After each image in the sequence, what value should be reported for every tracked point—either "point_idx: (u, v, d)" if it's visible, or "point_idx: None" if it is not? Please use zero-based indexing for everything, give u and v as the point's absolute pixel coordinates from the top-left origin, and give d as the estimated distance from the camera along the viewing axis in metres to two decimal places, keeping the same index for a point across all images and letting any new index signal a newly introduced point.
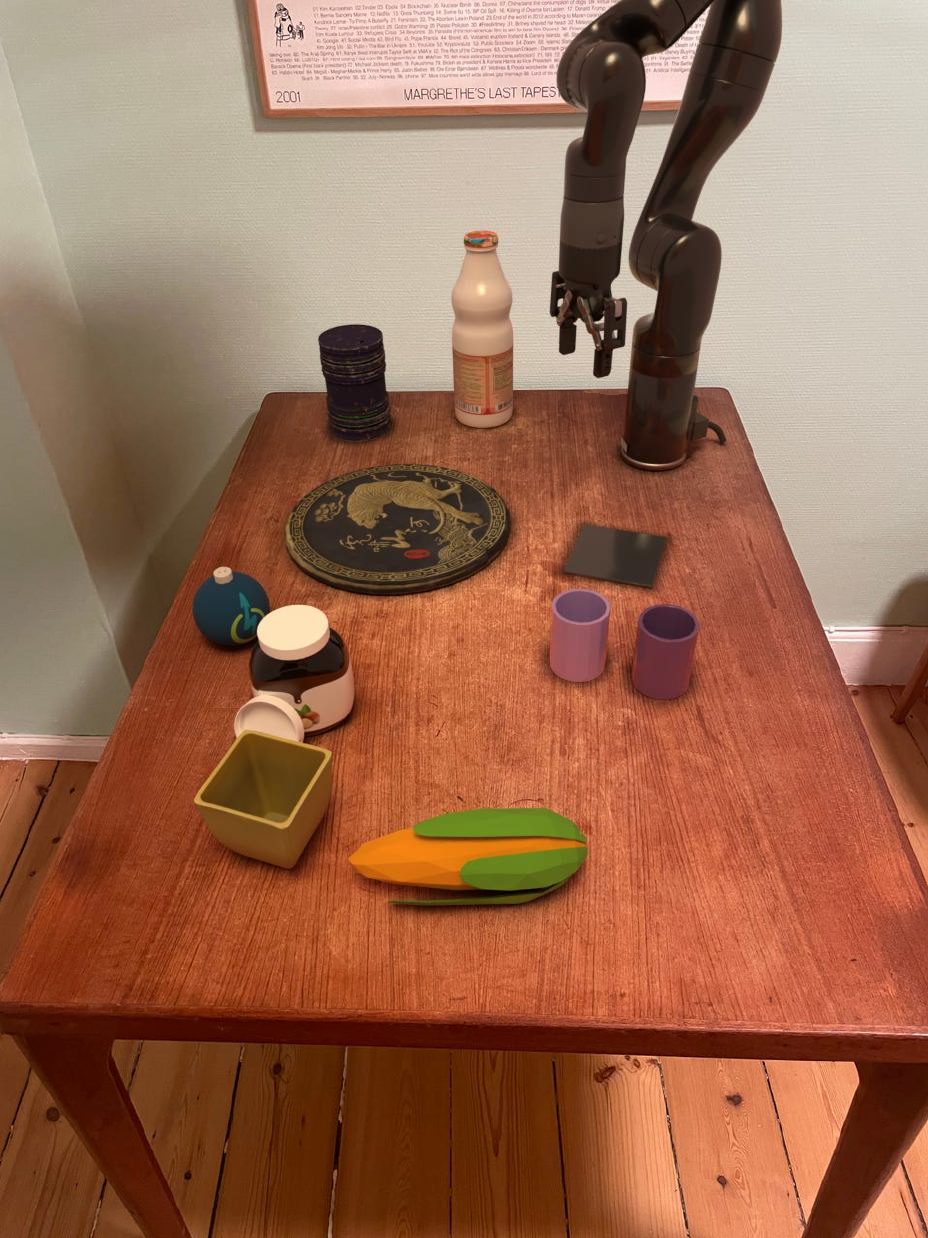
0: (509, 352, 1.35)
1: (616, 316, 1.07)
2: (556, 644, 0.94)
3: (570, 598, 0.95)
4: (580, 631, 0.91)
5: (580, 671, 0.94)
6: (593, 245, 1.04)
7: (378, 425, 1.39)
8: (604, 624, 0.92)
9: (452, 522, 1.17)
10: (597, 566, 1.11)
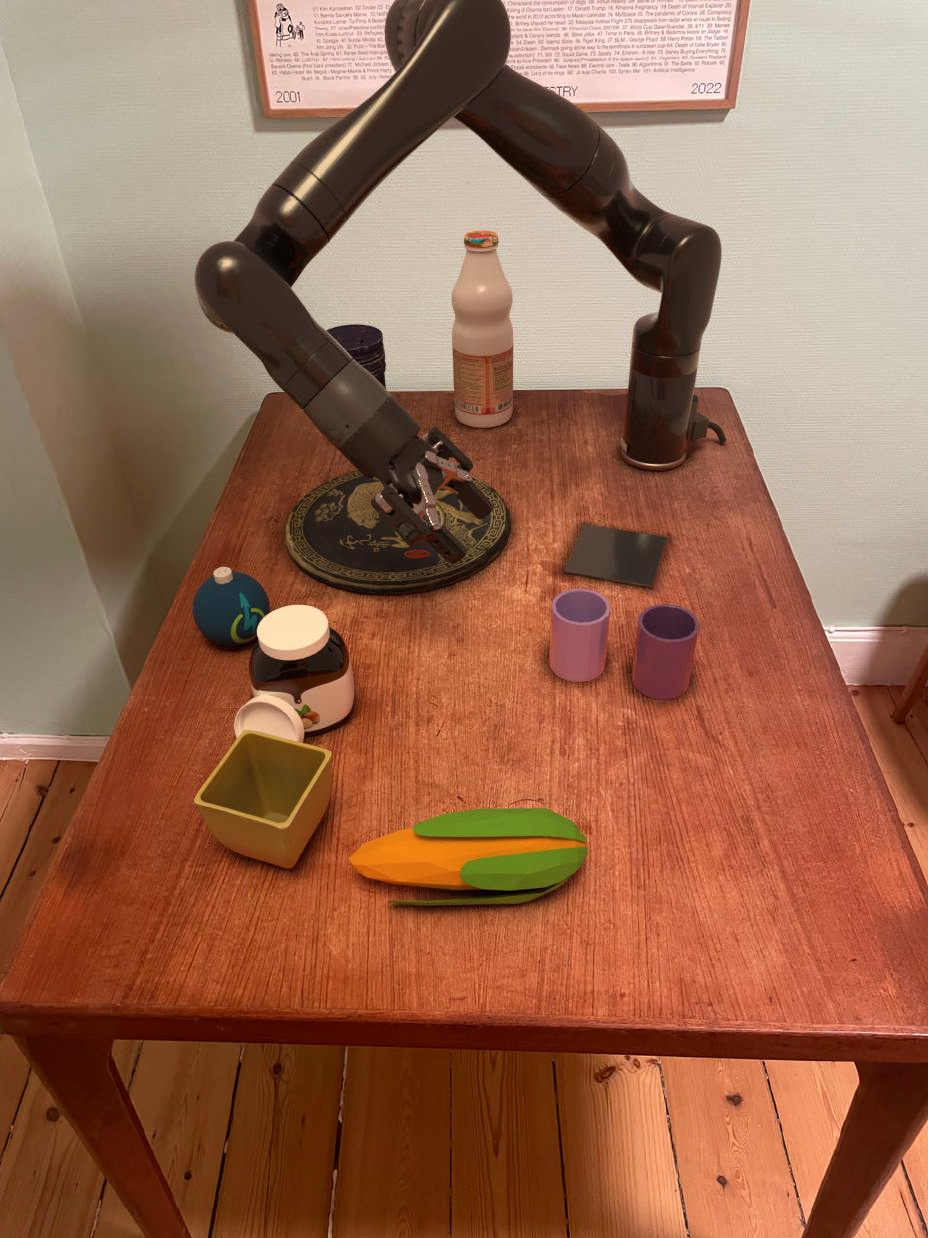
0: (509, 352, 1.35)
1: (388, 511, 0.85)
2: (556, 644, 0.94)
3: (570, 598, 0.95)
4: (580, 631, 0.91)
5: (580, 671, 0.94)
6: (337, 444, 0.86)
7: None
8: (604, 624, 0.92)
9: (452, 522, 1.17)
10: (597, 566, 1.11)
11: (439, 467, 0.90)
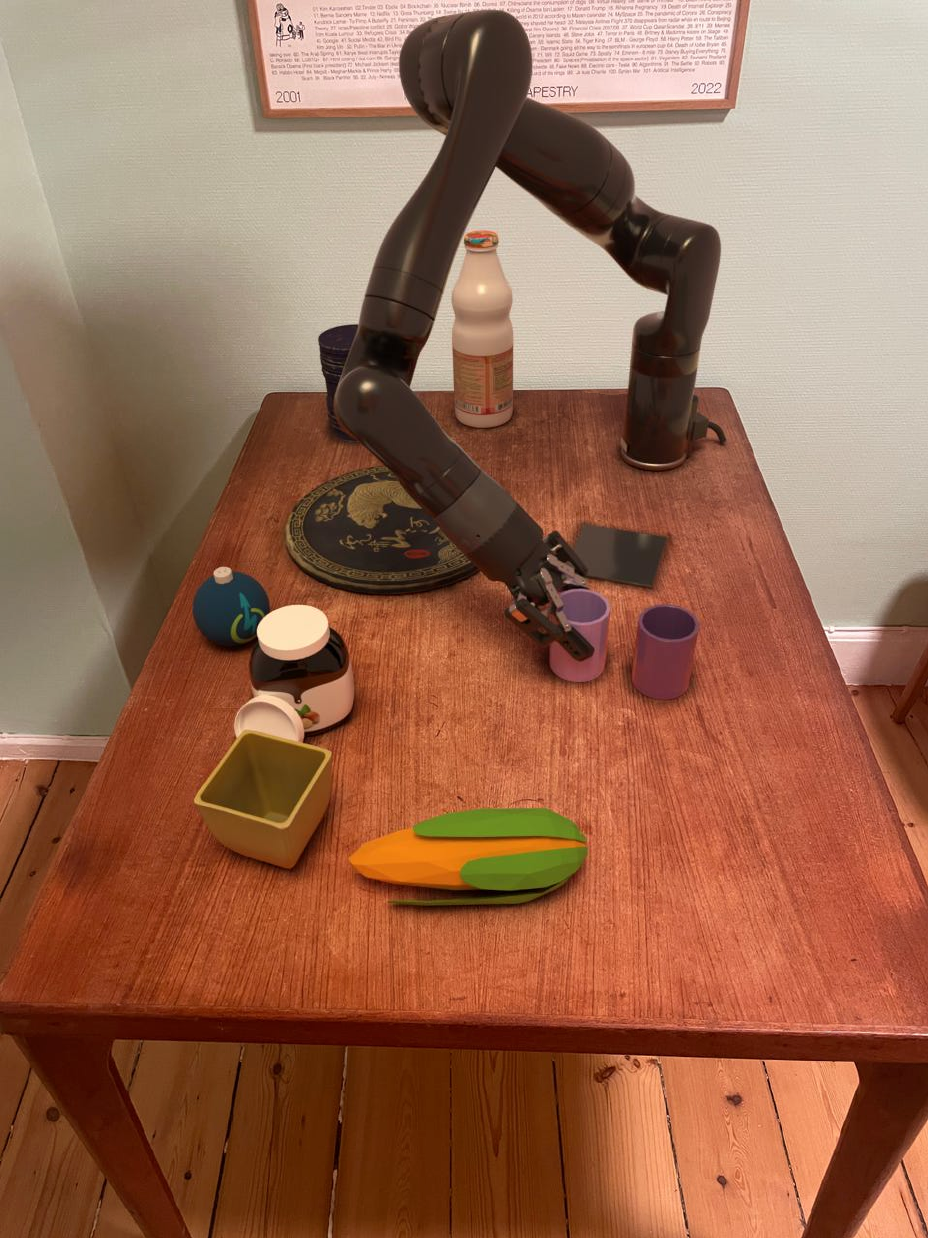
0: (509, 352, 1.35)
1: (522, 621, 0.88)
2: (556, 644, 0.94)
3: (570, 598, 0.95)
4: (580, 631, 0.91)
5: (580, 671, 0.94)
6: (465, 551, 0.89)
7: None
8: (604, 625, 0.92)
9: None
10: (597, 566, 1.11)
11: (559, 570, 0.93)
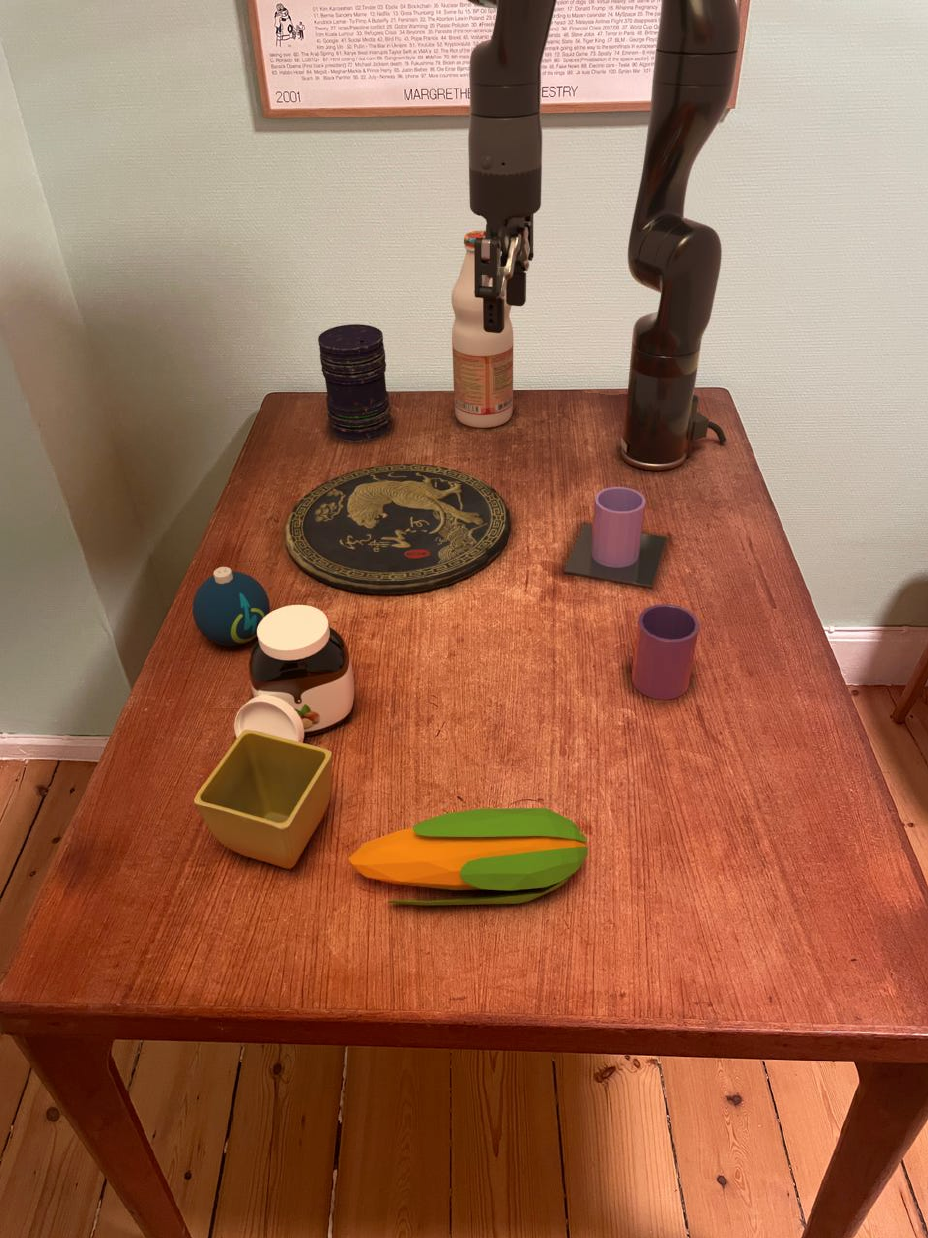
0: (509, 352, 1.35)
1: (483, 258, 0.91)
2: (598, 533, 1.09)
3: (610, 495, 1.10)
4: (620, 519, 1.06)
5: (619, 557, 1.09)
6: (478, 168, 0.90)
7: (378, 425, 1.39)
8: (640, 514, 1.07)
9: (452, 522, 1.17)
10: (597, 566, 1.11)
11: (523, 246, 0.98)
